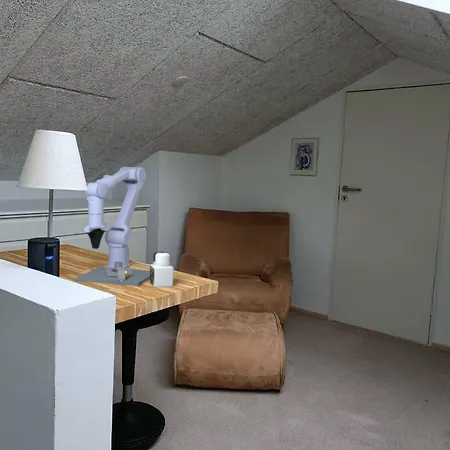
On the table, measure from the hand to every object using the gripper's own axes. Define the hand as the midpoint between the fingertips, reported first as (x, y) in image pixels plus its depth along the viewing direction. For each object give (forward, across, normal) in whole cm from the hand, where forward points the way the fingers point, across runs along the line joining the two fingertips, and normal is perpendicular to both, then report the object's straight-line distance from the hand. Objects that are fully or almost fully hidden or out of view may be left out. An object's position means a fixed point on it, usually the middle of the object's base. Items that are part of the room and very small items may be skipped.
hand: (95, 248), depth 176 cm
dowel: (+9, -9, -17) cm, 21 cm away
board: (+10, -3, -11) cm, 15 cm away
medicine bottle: (+10, -8, -30) cm, 33 cm away
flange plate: (+8, -6, -13) cm, 16 cm away
